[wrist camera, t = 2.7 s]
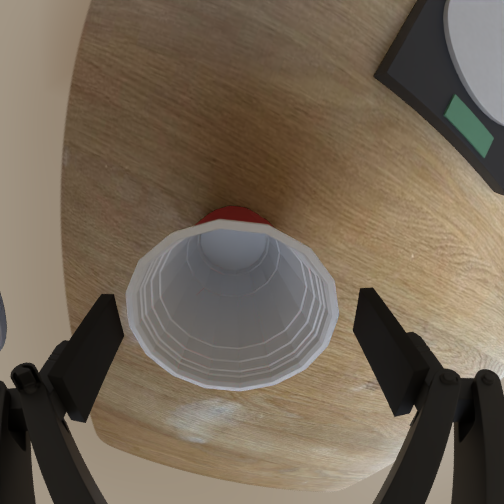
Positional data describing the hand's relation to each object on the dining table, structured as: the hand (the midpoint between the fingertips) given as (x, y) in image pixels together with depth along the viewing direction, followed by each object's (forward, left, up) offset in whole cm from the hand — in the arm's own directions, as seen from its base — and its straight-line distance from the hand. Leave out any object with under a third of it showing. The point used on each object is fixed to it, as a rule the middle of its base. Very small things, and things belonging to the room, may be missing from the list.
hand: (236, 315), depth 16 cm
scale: (+12, +28, -11) cm, 32 cm away
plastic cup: (0, 0, -11) cm, 11 cm away
